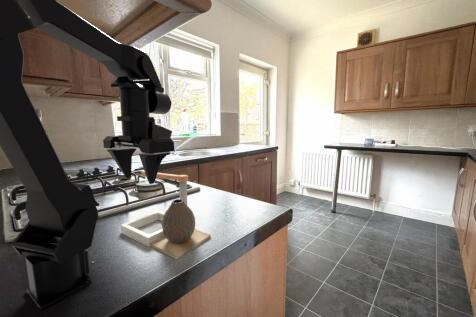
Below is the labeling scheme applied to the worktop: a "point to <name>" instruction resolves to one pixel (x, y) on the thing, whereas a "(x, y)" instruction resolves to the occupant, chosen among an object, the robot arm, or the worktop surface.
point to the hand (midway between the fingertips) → (139, 180)
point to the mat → (181, 248)
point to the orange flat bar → (170, 176)
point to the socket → (142, 237)
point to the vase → (178, 222)
